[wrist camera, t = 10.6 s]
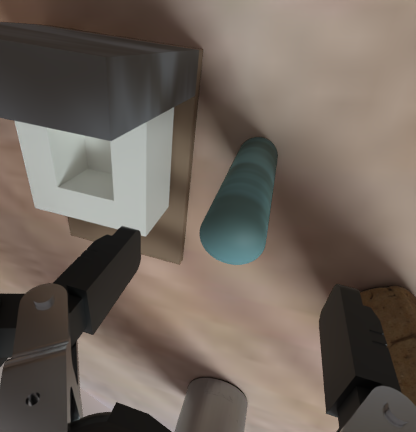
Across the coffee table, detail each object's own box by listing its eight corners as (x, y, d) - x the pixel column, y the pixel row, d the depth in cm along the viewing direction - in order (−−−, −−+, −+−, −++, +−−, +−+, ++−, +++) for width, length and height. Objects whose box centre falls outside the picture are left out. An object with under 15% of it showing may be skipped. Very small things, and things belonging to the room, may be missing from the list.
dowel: (272, 178, 24) (257, 271, 14) (235, 170, 25) (196, 255, 15) (282, 141, 23) (273, 218, 13) (242, 133, 23) (203, 202, 13)
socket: (168, 206, 27) (145, 236, 23) (72, 183, 28) (35, 207, 24) (174, 92, 22) (146, 104, 17) (56, 71, 23) (4, 77, 19)
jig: (182, 258, 32) (125, 371, 21) (76, 230, 33) (-28, 319, 23) (203, 49, 21) (105, 57, 10) (44, 25, 23) (-181, 9, 12)
